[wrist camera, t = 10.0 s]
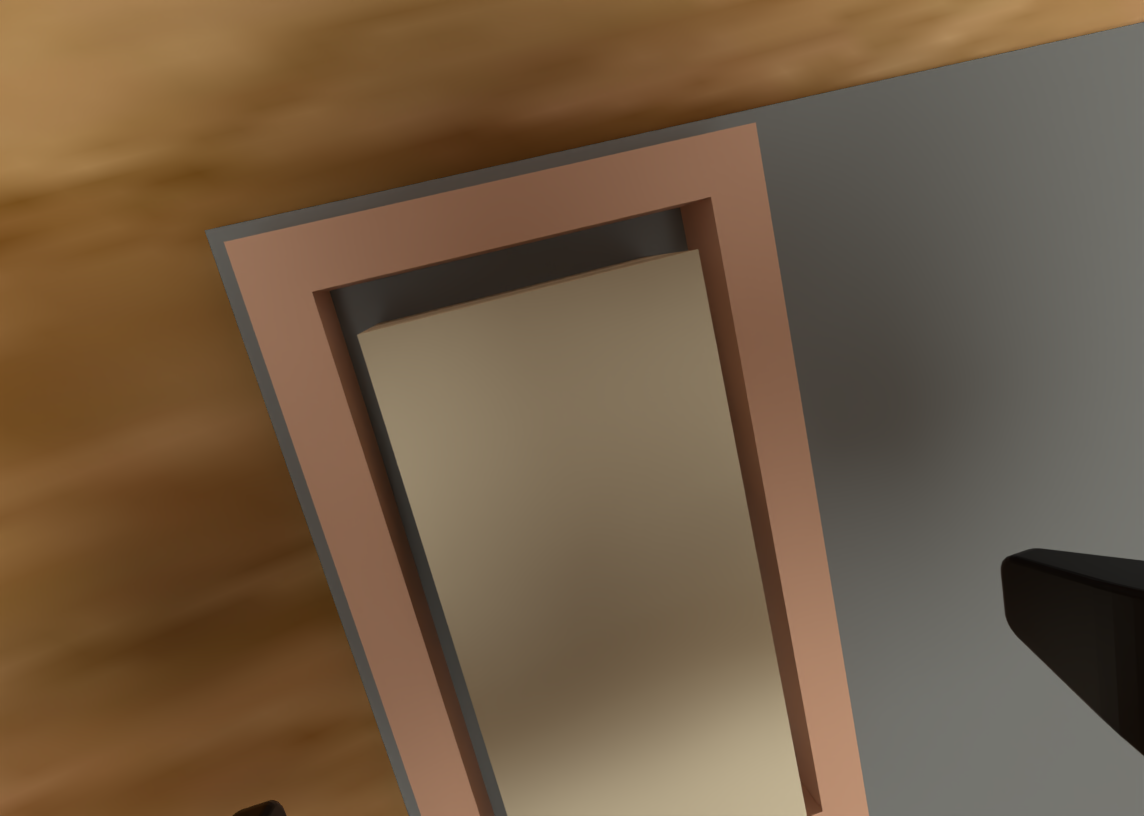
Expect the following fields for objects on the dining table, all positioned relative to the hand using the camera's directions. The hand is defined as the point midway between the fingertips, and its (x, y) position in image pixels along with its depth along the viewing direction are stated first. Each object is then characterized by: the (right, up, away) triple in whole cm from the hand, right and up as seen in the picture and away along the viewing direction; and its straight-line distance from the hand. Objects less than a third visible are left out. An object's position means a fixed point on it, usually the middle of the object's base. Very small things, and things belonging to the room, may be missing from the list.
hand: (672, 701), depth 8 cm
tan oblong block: (-1, +1, +4) cm, 5 cm away
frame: (-1, +1, +4) cm, 5 cm away
